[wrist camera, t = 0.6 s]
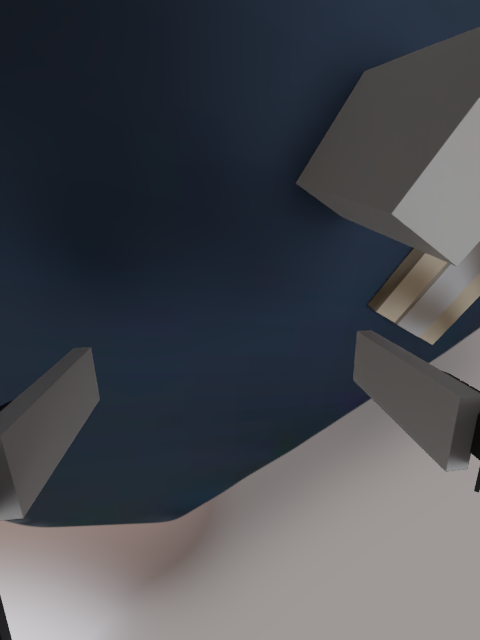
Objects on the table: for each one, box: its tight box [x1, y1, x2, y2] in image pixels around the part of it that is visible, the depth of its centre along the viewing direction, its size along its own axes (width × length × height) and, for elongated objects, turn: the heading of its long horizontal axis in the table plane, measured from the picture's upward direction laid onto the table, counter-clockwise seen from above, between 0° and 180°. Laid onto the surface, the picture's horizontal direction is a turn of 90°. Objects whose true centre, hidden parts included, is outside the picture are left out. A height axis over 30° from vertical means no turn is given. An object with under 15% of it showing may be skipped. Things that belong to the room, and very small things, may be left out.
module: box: [296, 27, 480, 266], centre depth 17 cm, size 8×5×13 cm, turn 148°
